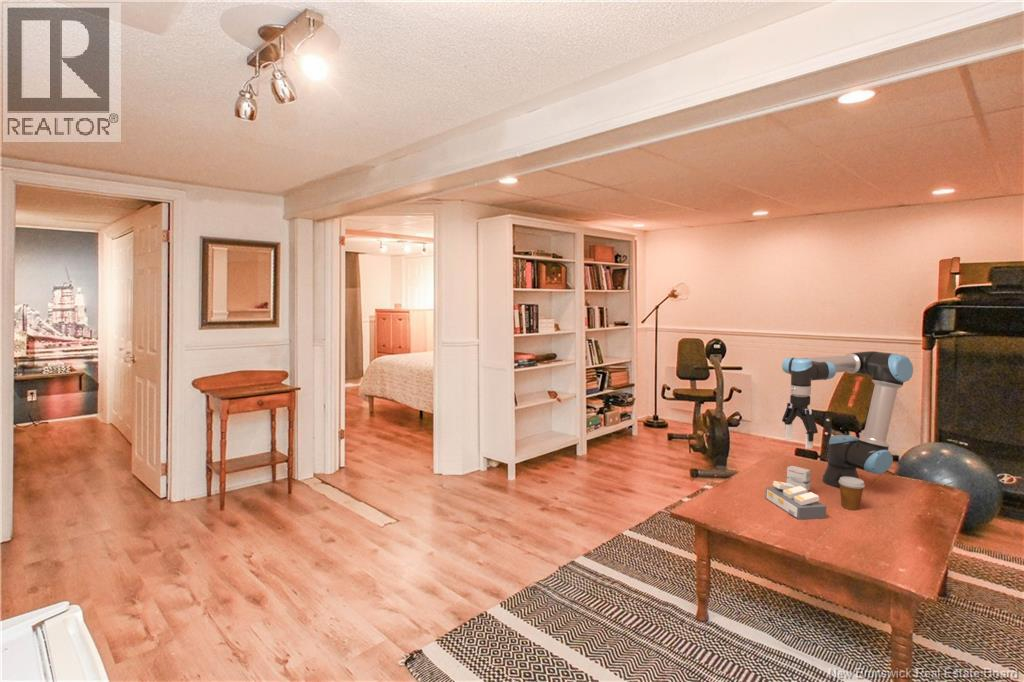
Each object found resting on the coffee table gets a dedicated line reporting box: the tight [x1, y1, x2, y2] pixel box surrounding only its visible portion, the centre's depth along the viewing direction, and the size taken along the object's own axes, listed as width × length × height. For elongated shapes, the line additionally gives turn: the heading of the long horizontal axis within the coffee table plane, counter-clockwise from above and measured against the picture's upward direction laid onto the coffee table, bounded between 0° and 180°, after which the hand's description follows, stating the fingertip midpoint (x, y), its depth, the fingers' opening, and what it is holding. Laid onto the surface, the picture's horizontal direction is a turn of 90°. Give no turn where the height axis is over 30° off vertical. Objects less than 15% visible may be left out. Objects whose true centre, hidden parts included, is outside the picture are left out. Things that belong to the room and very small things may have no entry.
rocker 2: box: [783, 486, 808, 499], centre depth 225 cm, size 8×4×2 cm, turn 97°
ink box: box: [785, 465, 812, 493], centre depth 241 cm, size 8×5×12 cm, turn 39°
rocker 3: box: [794, 491, 820, 506], centre depth 218 cm, size 8×4×2 cm, turn 97°
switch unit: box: [765, 486, 827, 521], centre depth 225 cm, size 13×22×6 cm, turn 8°
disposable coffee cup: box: [839, 477, 866, 511], centre depth 226 cm, size 10×10×12 cm
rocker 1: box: [772, 480, 795, 490], centre depth 232 cm, size 8×4×2 cm, turn 99°
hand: (798, 443), depth 228 cm, fingers open, 13 cm apart
